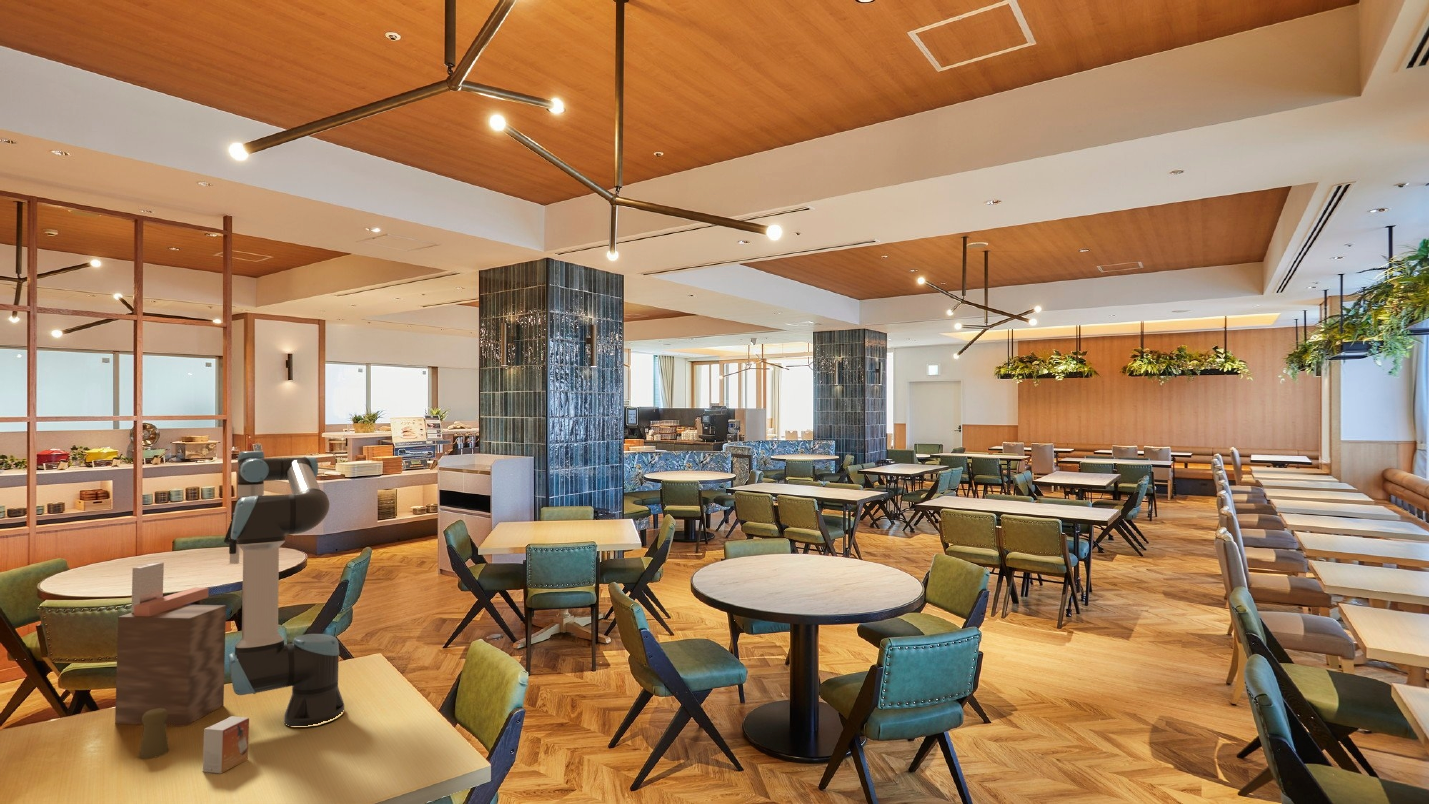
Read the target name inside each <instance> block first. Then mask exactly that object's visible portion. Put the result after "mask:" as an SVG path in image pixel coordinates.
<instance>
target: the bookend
mask: <svg viewBox="0 0 1429 804" xmlns="http://www.w3.org/2000/svg"><path fill="white" fill-rule="evenodd" d="M164 565H165V562H162V561H161V562H159V561H158V562H151V563H149V564H148V563H147V564H144V565H139V566H135V567H132V577H131V578H132V579H131V582H132V584H131V607H130V609H131V612H130V613H134V605H138V604H141V603H144V602H148V601H151V600H154V599H158V598H161V597H164V569H165V567H164Z"/></svg>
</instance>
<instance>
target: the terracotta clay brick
mask: <svg viewBox="0 0 1429 804" xmlns="http://www.w3.org/2000/svg"><path fill="white" fill-rule="evenodd" d="M209 589H210V588H209V587H196V586H195V587H192V588H189V589H185V590H182V591H179V592H178V591H177V592H175V593H172V594H169V595H165V596H164V595H163V597H161V598H158V599H154V600H151V601H148V602H144V603H141V604H138V605H134V616H152V615H155V614H158V613H161V612H164V611H167V610H170V609H174V608H177V607H180V606H183V605H190V604H192V603H195V602H199V601H200V600H204V599H207V598H209V594H210V592H209Z"/></svg>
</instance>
